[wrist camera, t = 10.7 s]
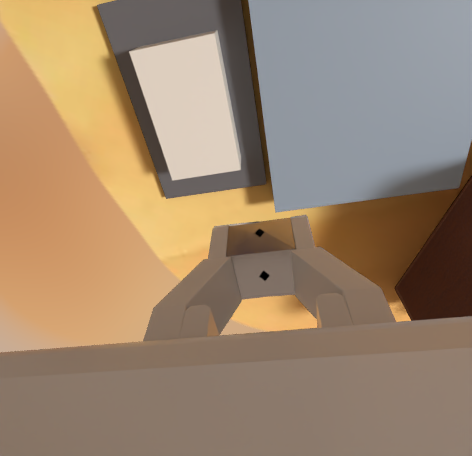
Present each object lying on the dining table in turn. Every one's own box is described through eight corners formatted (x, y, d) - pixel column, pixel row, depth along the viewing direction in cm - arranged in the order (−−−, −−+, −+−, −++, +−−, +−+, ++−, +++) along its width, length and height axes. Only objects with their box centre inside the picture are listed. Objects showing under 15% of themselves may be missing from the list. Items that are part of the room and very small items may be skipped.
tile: (139, 46, 24) (129, 51, 22) (217, 29, 23) (214, 33, 21) (177, 167, 30) (172, 180, 28) (241, 157, 29) (240, 169, 27)
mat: (99, 4, 23) (96, 5, 22) (237, -28, 21) (237, -28, 21) (167, 196, 32) (166, 198, 32) (266, 181, 31) (266, 184, 30)
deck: (239, -69, 20) (238, -76, 18) (515, -138, 18) (548, -155, 16) (273, 198, 32) (275, 212, 30) (444, 174, 30) (459, 188, 28)
